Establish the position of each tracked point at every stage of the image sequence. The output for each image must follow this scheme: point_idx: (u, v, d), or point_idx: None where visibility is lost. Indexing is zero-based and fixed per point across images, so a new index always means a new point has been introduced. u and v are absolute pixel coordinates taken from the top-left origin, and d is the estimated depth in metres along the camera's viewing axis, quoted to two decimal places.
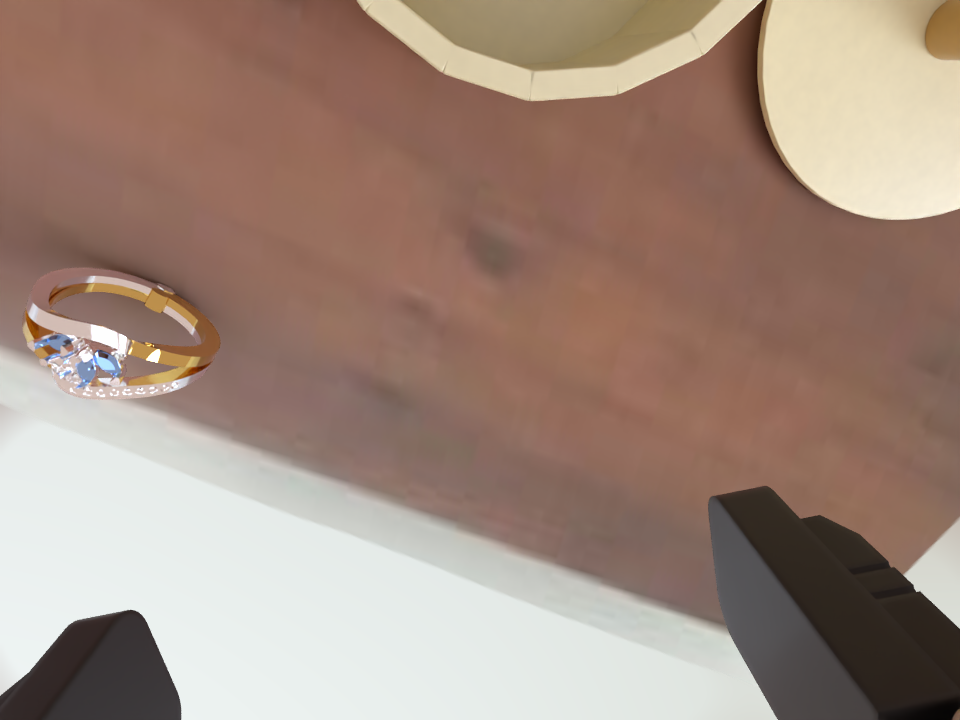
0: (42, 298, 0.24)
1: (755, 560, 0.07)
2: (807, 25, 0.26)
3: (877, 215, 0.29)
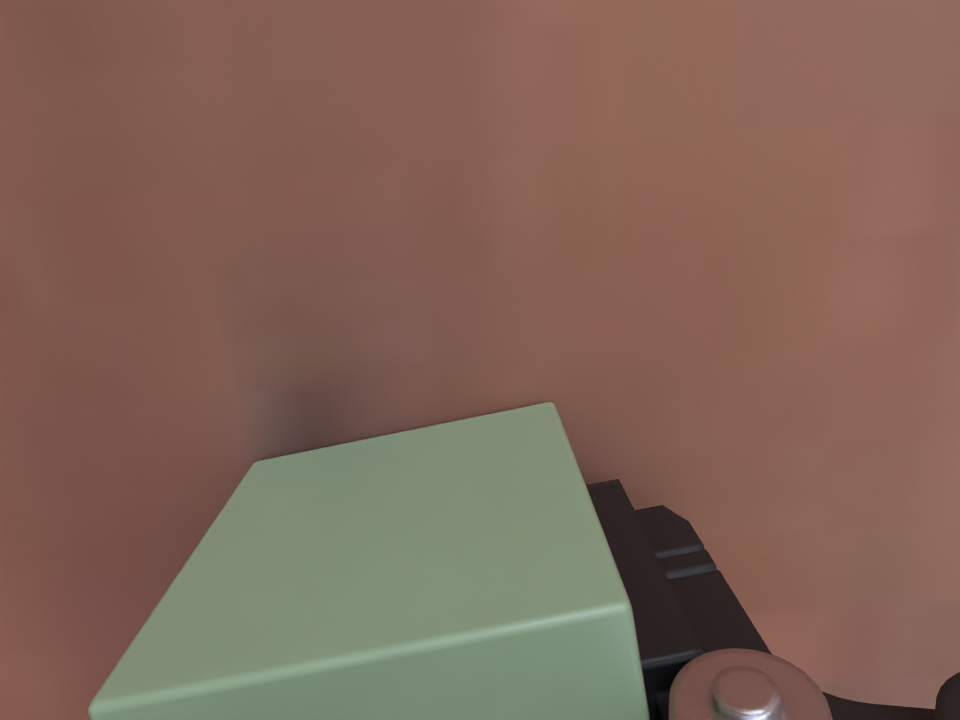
0: None
1: None
2: None
3: None
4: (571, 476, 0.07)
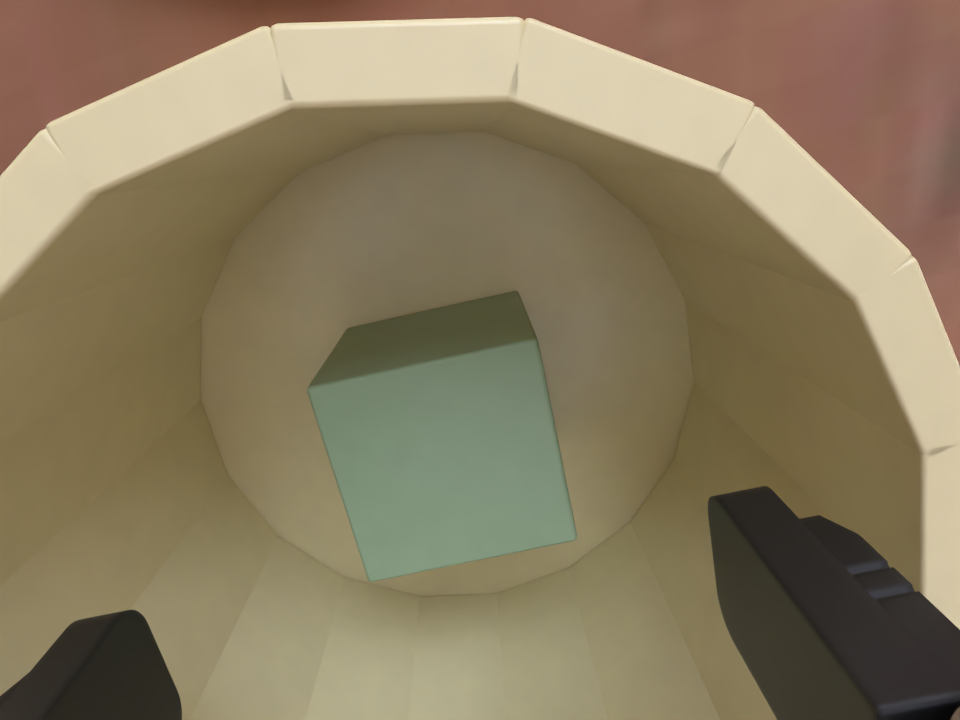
0: None
1: (754, 560, 0.07)
2: None
3: None
4: (521, 312, 0.14)
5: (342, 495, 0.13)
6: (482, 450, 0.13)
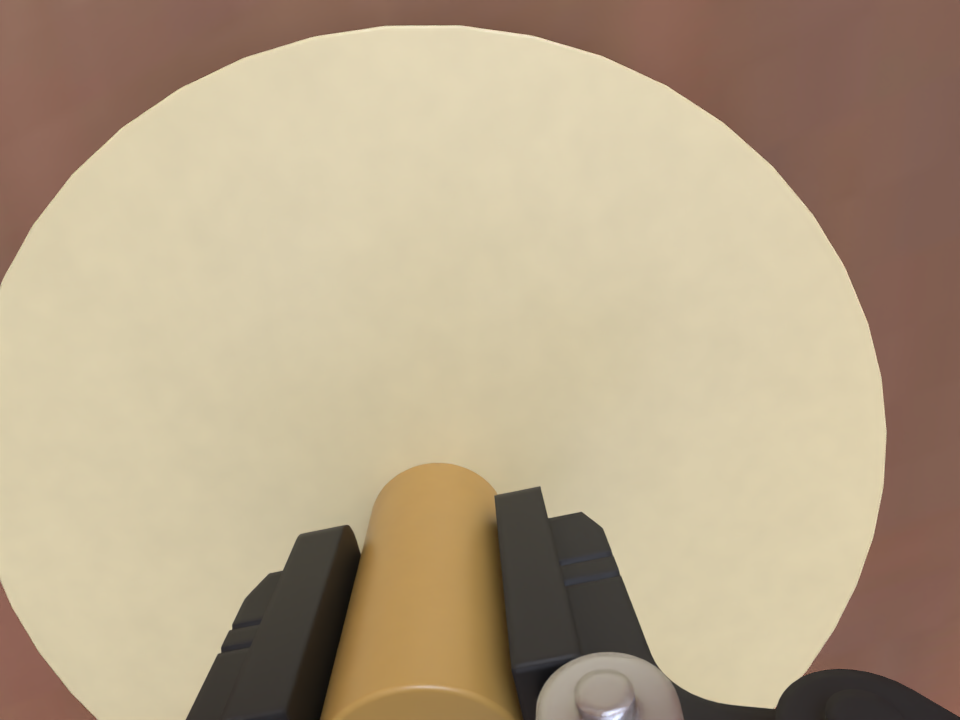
0: None
1: None
2: None
3: (874, 378, 0.10)
4: None
5: None
6: None
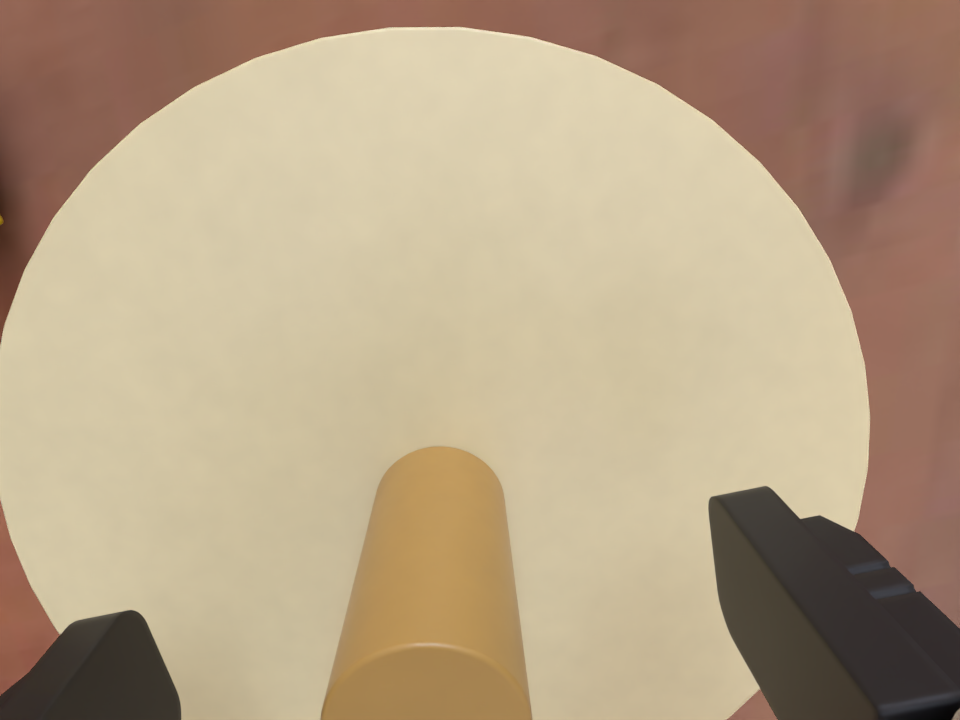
0: None
1: (755, 560, 0.07)
2: None
3: (857, 365, 0.11)
4: None
5: None
6: None
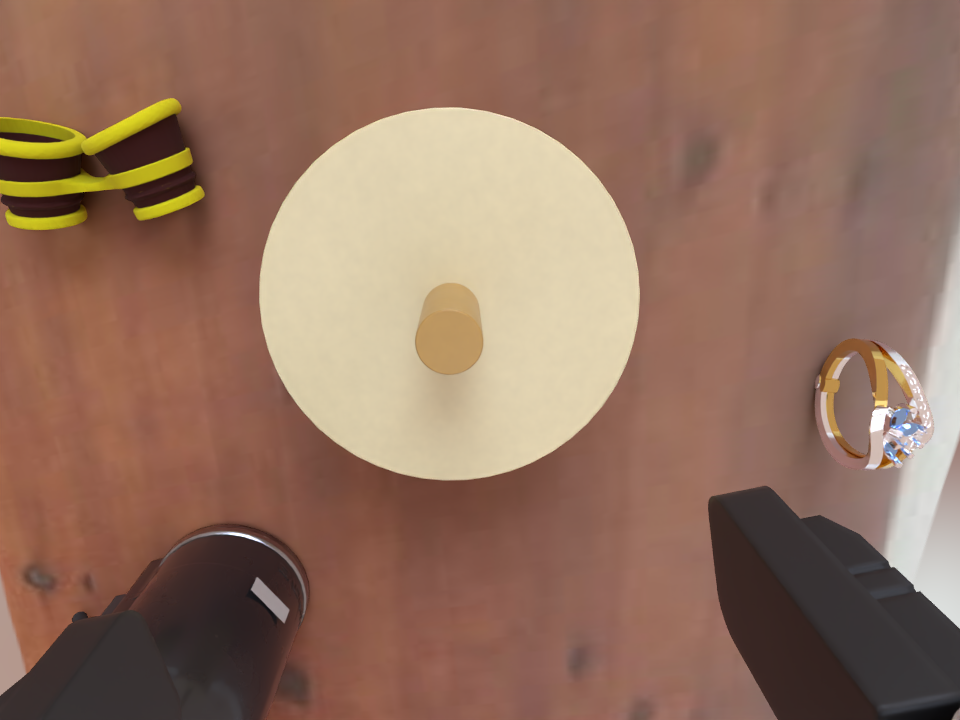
0: (858, 462, 0.34)
1: (755, 560, 0.07)
2: (517, 431, 0.28)
3: (629, 246, 0.26)
4: None
5: None
6: None
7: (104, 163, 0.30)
